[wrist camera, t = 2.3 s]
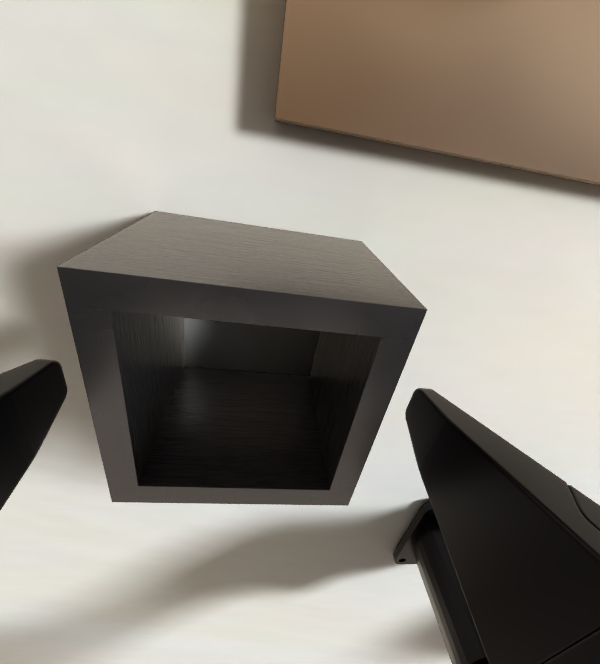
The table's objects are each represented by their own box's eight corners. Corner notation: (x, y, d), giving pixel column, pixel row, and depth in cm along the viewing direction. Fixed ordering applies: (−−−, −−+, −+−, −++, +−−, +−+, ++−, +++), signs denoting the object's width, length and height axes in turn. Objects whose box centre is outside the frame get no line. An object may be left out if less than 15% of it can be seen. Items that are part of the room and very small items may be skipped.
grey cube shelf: (323, 390, 13) (348, 505, 9) (166, 379, 12) (111, 501, 8) (361, 241, 10) (427, 309, 6) (155, 211, 9) (56, 266, 5)
